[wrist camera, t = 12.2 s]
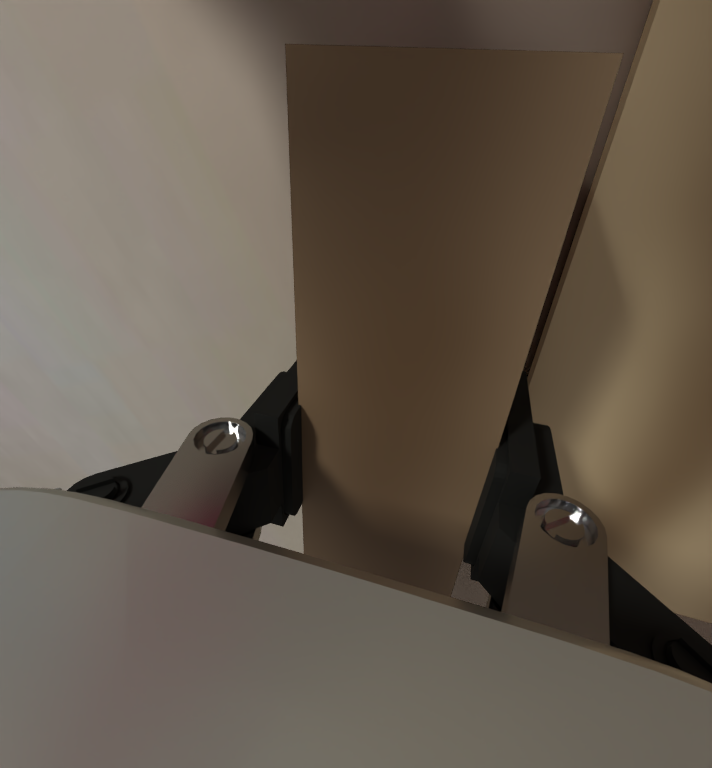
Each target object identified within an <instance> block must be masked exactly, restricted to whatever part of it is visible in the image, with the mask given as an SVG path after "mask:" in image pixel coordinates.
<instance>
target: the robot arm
mask: <svg viewBox="0 0 712 768" xmlns="http://www.w3.org/2000/svg"><path fill="white" fill-rule="evenodd" d="M302 502H303V472H302V418H301V405H298V377H297V361H296V362H295V363H294V364H293V365H292V367H291V368H290V369H289V370H288V372H280V373H279V374H278V375H277V376H276V378H275V379H274V380H273V381H272V382H271V383H270V385H269V386H268V387H267V388H266V389H265V391H264V392H263V393H262V394H261V395H260V396H259V398H258V399H257V400H256V401H255V402H254V404H253V405H252V406H251V407H250V408H249V409H248V411H247V412H246V413H245V414H244V415H243V417H242V418H241V419H235V418H216V419H211V420H208V421H206V422H203V423H201V424H200V425H198V426H196V427H195V428H194V429H193V430H192V431H191V432H190V433H189V434H188V436H187V437H186V439H185V440H184V442H183V444H182V445H181V447H180V448H179V450H178V451H176V452H172V453H169V454H165V455H161V456H158V457H154V458H151V459H147V460H143V461H140V462H136V463H133V464H129V465H126V466H122V467H118V468H115V469H111V470H108V471H104V472H100V473H97V474H94V475H92V476H89V477H86V478H84V479H82V480H81V481H79V482H77V483H76V484H74V485H73V486H72V487H71V488H69V489H68V490H67V491H64V490H62V489H61V488H56V489H48V488H27V487H13V488H0V768H712V645H711V644H709V643H708V642H707V641H706V640H705V639H704V638H702V637H701V636H700V635H699V634H698V633H697V632H696V631H694V630H693V629H692V628H691V627H690V626H689V625H687V624H686V623H685V622H684V621H683V620H682V619H680V618H679V617H678V616H677V615H676V614H675V613H673V612H672V611H671V610H670V609H669V608H668V607H667V606H665V605H664V604H663V603H662V602H661V601H660V600H658V599H657V598H656V597H655V596H654V595H653V594H651V593H650V592H649V591H648V590H647V589H646V588H645V587H643V586H642V585H641V584H640V583H639V582H638V581H636V580H635V579H634V578H633V577H632V576H631V575H629V574H628V573H627V572H626V571H625V570H624V569H622V568H621V567H620V566H619V565H618V564H617V563H616V562H614V561H613V560H612V559H611V558H610V557H609V556H608V550H607V535H606V530H605V527H604V526H603V524H602V522H601V521H600V519H599V518H598V517H597V516H596V515H595V514H594V513H593V512H592V511H591V510H590V509H589V508H588V507H586V506H585V505H583V504H582V503H581V502H579V501H577V500H575V499H572V498H570V497H568V496H564V495H563V489H562V484H561V479H560V474H559V469H558V464H557V458H556V453H555V448H554V443H553V438H552V432H551V429H550V427H549V426H547V425H542V424H538V423H533V418H532V411H531V404H530V397H529V389H528V382H527V375H526V372H525V371H522V374H521V377H520V380H519V383H518V387H517V390H516V393H515V396H514V399H513V402H512V405H511V409H510V412H509V415H508V418H507V421H506V424H505V427H504V431H503V434H502V437H501V440H500V443H499V446H498V448H496V450H495V453H494V456H493V459H492V462H491V465H490V468H489V471H488V474H487V477H486V480H485V483H484V486H483V489H482V492H481V495H480V498H479V501H478V504H477V507H476V510H475V513H474V516H473V519H472V522H471V525H470V528H469V531H468V534H467V537H466V540H465V543H464V555H463V561H464V562H465V563H469V564H471V579H472V580H475V581H479V582H480V583H481V585H482V586H483V587H484V588H485V589H486V591H487V592H488V593H489V597H488V600H487V604H486V608H485V607H482V606H479V605H475V604H472V603H469V602H465V601H462V600H459V599H455V598H452V597H449V596H445V595H442V594H438V593H435V592H432V591H428V590H425V589H422V588H418V587H415V586H412V585H408V584H405V583H401V582H398V581H395V580H391V579H388V578H384V577H381V576H377V575H374V574H371V573H367V572H364V571H360V570H357V569H354V568H350V567H347V566H343V565H340V564H336V563H333V562H330V561H326V560H323V559H319V558H316V557H312V556H309V555H306V554H302V553H299V552H295V551H292V550H288V549H285V548H281V547H278V546H275V545H271V544H268V543H264V542H261V541H259V537H260V534H261V529H262V526H264V525H266V524H269V523H272V524H276V525H280V526H284V524H285V522H286V520H287V518H288V516H289V514H290V515H294V516H295V515H296V514H297V512H298V510H299V508H300V506H301V504H302Z"/></svg>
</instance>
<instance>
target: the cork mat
mask: <svg viewBox="0 0 712 768" xmlns="http://www.w3.org/2000/svg"><path fill="white" fill-rule="evenodd" d="M527 382H528V389H529V397H530V404H531V411H532V418H533V423H538V424H542V425H547V426H549V427H550V429H551V432H552V438H553V443H554V448H555V453H556V458H557V464H558V469H559V474H560V479H561V484H562V489H563V495H564V496H568V497H570V498H572V499H575V500H577V501H579V502H581V503H582V504H583V505H585V506H586V507H588V508H589V509H590V510H591V511H592V512H593V513H594V514H595V515H596V516H597V517H598V518H599V519H600V521H601V522H602V524H603V526H604V527H605V530H606V535H607V550H608V556H609V557H610V558H611V559H612V560H613V561H614V562H616V563H617V564H618V565H619V566H620V567H621V568H622V569H624V570H625V571H626V572H627V573H628V574H629V575H631V576H632V577H633V578H634V579H635V580H636V581H638V582H639V583H640V584H641V585H642V586H643V587H645V588H646V589H647V590H648V591H649V592H650V593H651V594H653V595H654V596H655V597H656V598H657V599H658V600H660V601H661V602H662V603H663V604H664V605H665V606H667V607H668V608H669V609H670V610H671V611H672V612H673V613H676V614H679V615H683V616H687V617H690V618H694V619H697V620H701V621H704V622H708V623H712V0H653V2H652V5H651V8H650V11H649V14H648V17H647V20H646V23H645V26H644V29H643V32H642V35H641V38H640V41H639V44H638V47H637V50H636V53H635V56H634V59H633V62H632V65H631V68H630V71H629V74H628V77H627V80H626V83H625V86H624V89H623V92H622V95H621V98H620V101H619V104H618V107H617V110H616V113H615V116H614V119H613V122H612V125H611V128H610V131H609V134H608V137H607V140H606V143H605V146H604V149H603V152H602V155H601V158H600V161H599V164H598V167H597V170H596V173H595V176H594V179H593V182H592V185H591V188H590V191H589V194H588V197H587V200H586V203H585V206H584V209H583V212H582V215H581V218H580V221H579V224H578V227H577V230H576V233H575V236H574V239H573V242H572V245H571V248H570V251H569V254H568V257H567V260H566V263H565V266H564V269H563V272H562V275H561V278H560V281H559V284H558V287H557V290H556V293H555V296H554V299H553V302H552V305H551V308H550V311H549V314H548V317H547V320H546V323H545V326H544V329H543V332H542V335H541V338H540V341H539V344H538V347H537V350H536V353H535V356H534V359H533V362H532V365H531V368H530V371H529V374H528V377H527Z"/></svg>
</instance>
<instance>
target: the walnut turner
mask: <svg viewBox="0 0 712 768" xmlns="http://www.w3.org/2000/svg"><path fill="white" fill-rule="evenodd" d="M285 49H286V77H287V104H288V131H289V159H290V186H291V213H292V241H293V268H294V295H295V323H296V350H297V377H298V405H301V418H302V472H303V502H302V514H303V541H304V554H306V555H309V556H312V557H316V558H319V559H323V560H326V561H330V562H333V563H336V564H340V565H343V566H347V567H350V568H354V569H357V570H360V571H364V572H367V573H371V574H374V575H377V576H381V577H384V578H388V579H391V580H395V581H398V582H401V583H405V584H408V585H412V586H415V587H418V588H422V589H425V590H428V591H432V592H435V593H438V594H442V595H445V596H449V597H451V594H452V591H453V587H454V584H455V581H456V578H457V575H458V572H459V569H460V565H461V562H462V559H463V555H464V543H465V540H466V537H467V534H468V531H469V528H470V525H471V522H472V519H473V516H474V513H475V510H476V507H477V504H478V501H479V498H480V495H481V492H482V489H483V486H484V483H485V480H486V477H487V474H488V471H489V468H490V465H491V462H492V459H493V456H494V453H495V450H496V448H498V446H499V443H500V440H501V437H502V434H503V431H504V427H505V424H506V421H507V418H508V415H509V412H510V409H511V405H512V402H513V399H514V396H515V393H516V390H517V387H518V383H519V380H520V377H521V374H522V371H523V368H524V365H525V361H526V358H527V355H528V352H529V349H530V346H531V343H532V339H533V336H534V333H535V330H536V327H537V324H538V321H539V318H540V314H541V311H542V308H543V305H544V302H545V299H546V296H547V292H548V289H549V286H550V283H551V280H552V277H553V274H554V270H555V267H556V264H557V261H558V258H559V255H560V252H561V248H562V245H563V242H564V239H565V236H566V233H567V230H568V226H569V223H570V220H571V217H572V214H573V211H574V208H575V205H576V201H577V198H578V195H579V192H580V189H581V186H582V183H583V179H584V176H585V173H586V170H587V167H588V164H589V161H590V157H591V154H592V151H593V148H594V145H595V142H596V139H597V135H598V132H599V129H600V126H601V123H602V120H603V117H604V113H605V110H606V107H607V104H608V101H609V98H610V95H611V92H612V88H613V85H614V82H615V79H616V76H617V73H618V70H619V66H620V63H621V60H622V57H623V54H624V53H598V52H562V51H525V50H489V49H453V48H417V47H381V46H345V45H309V44H285Z"/></svg>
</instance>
